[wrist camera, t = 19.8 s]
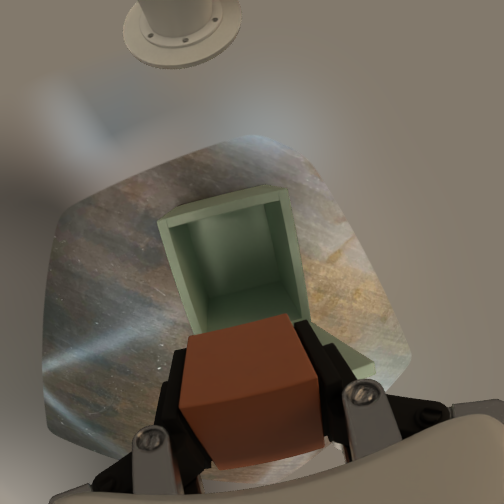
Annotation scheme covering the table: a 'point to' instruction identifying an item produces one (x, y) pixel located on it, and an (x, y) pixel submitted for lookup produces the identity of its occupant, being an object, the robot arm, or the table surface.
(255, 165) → the table surface
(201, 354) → the block
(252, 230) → the green box
